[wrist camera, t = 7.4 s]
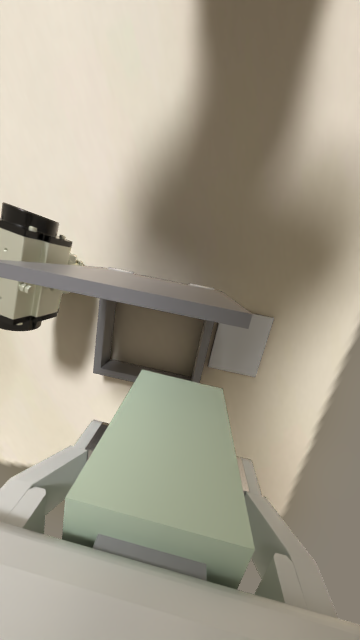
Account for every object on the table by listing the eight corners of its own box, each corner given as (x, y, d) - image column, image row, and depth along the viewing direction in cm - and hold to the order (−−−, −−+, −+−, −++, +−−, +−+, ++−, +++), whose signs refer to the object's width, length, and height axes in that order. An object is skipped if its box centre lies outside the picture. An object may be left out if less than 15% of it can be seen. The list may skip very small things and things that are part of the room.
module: (142, 369, 12) (47, 526, 4) (222, 388, 12) (262, 587, 4) (130, 435, 13) (42, 642, 6) (203, 453, 13) (208, 694, 5)
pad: (222, 307, 27) (222, 307, 26) (273, 317, 26) (274, 318, 26) (207, 365, 29) (208, 366, 29) (254, 375, 29) (255, 377, 28)
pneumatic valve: (49, 304, 29) (-50, 324, 18) (64, 224, 26) (-42, 185, 15) (83, 317, 29) (7, 346, 18) (102, 239, 26) (25, 210, 15)
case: (113, 266, 27) (-23, 254, 10) (219, 288, 26) (253, 310, 10) (103, 363, 31) (-10, 467, 14) (196, 384, 30) (192, 520, 13)
